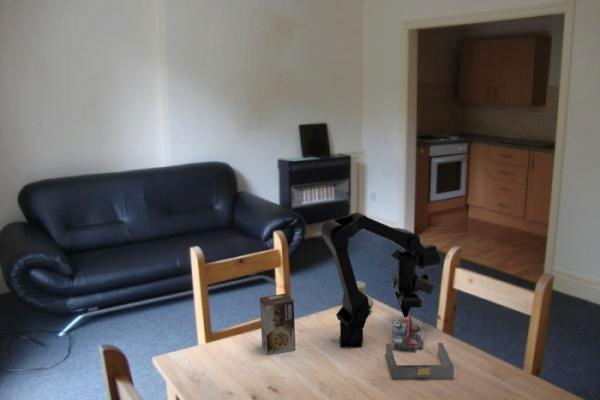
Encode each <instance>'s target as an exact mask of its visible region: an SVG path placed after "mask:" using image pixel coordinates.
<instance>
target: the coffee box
mask: <svg viewBox="0 0 600 400" xmlns="http://www.w3.org/2000/svg"><path fill="white" fill-rule="evenodd" d="M259 306H260V307H259V309H260V329H261V332H260V333H261V346H262V349H263V351H264V353H265V354H266V356H272V355H277V354H281V353H282V354H283V353H286V352H287V353H288V352H292V351H296V348H297V347H296V327H295V301H294V299H293V298H292V297H291V296H290V294H289V293H288V292H286V293H281V294H275V295H269V296H268V295H267V296H262V297H259Z"/></svg>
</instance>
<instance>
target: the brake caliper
mask: <svg viewBox="0 0 600 400" xmlns="http://www.w3.org/2000/svg"><path fill="white" fill-rule="evenodd" d="M412 321H413V319H412V311H411V309H410V310H409V314H408V317H407V321H405V320H404V321H403V320H402V319H401V318H394V321H393V327H392V330H393V336H392V337H393V338H392V339H391V340H390V341H391V342H392V343H393V344H394V345H396V346H397V347H398V348H399V349H400V350H403V351H404V350H405V351H408V350H415V351H416V350H420V349H421V348H423V345H424V339H425V335H424V332H423V328H422V326H421V325H420V324H419V325H417V326H416V328H413V325H412V324H413V323H412Z"/></svg>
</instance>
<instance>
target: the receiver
mask: <svg viewBox="0 0 600 400" xmlns="http://www.w3.org/2000/svg"><path fill="white" fill-rule="evenodd" d="M393 352H394V351H393V349H392V345H391V343H385V356H386V360H387V365H388V368H389V371H390V375H391V379H392V380H441V379H442V380H451V379H452V380H453V379H454V374H455V367H454V364H453V362H452V360H451V358H450V356H449V353H448V351H447V350H446V347H445V345H444V344H443V343H442V342H438V343H437V356H438V358H439V359H440V362H441V364H409V365H408V364H407V365H406V364H405V365H402V364H400V365H399V364H398V365H397V363H396V359H395V356H394V353H393Z"/></svg>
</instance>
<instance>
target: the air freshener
mask: <svg viewBox="0 0 600 400" xmlns="http://www.w3.org/2000/svg"><path fill="white" fill-rule="evenodd" d="M356 283H357V286H358V290H360V291H361V292H362V293H363V294H365V295H366V296H367V297H368V302H369V306H370V307H371V309H373V306H374V301H373V299H372V297H371V296H370V295H369V294H367V285H366V283H365V282H364V281H360V280H356ZM340 304H341V306H342V307H343V298H341V303H340ZM371 309H369V310H371Z"/></svg>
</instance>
